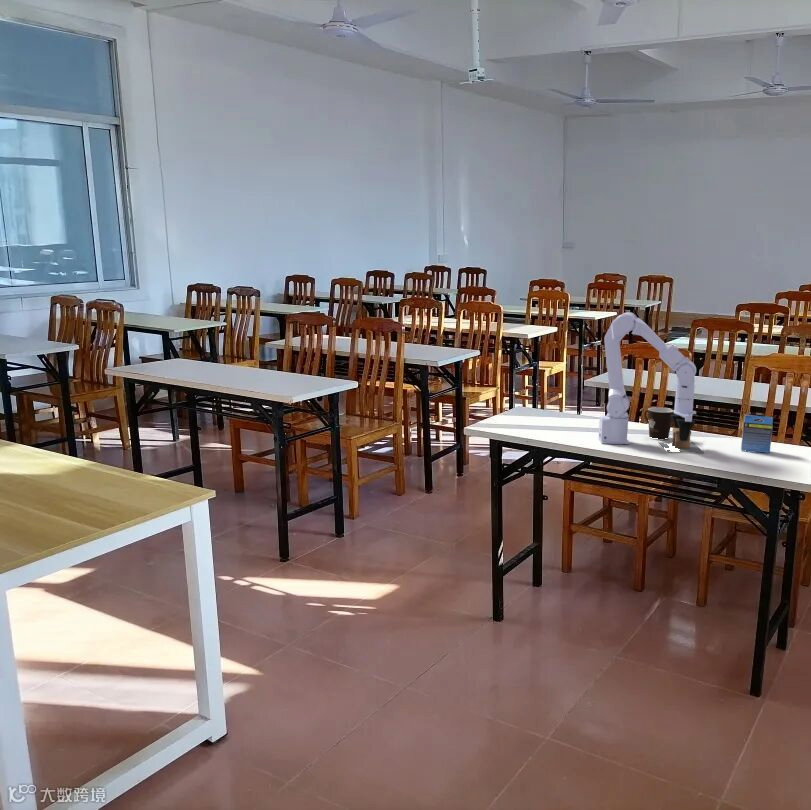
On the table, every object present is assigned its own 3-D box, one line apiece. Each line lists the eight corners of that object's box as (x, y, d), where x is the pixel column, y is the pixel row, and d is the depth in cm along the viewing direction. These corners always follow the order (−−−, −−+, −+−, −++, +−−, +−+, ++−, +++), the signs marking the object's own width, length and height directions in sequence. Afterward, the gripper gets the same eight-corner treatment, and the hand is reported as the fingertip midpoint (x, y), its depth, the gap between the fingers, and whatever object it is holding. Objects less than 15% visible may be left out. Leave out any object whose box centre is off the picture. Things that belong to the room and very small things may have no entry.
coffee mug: (674, 440, 287) (676, 412, 285) (649, 440, 287) (651, 412, 285) (665, 433, 298) (667, 406, 296) (641, 432, 299) (642, 405, 297)
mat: (666, 452, 271) (666, 451, 271) (658, 443, 283) (658, 442, 283) (703, 453, 271) (703, 452, 271) (694, 444, 282) (694, 443, 282)
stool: (674, 448, 275) (675, 430, 274) (671, 445, 279) (672, 427, 278) (689, 448, 274) (691, 431, 273) (686, 445, 279) (688, 428, 278)
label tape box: (769, 451, 274) (773, 414, 272) (769, 454, 271) (773, 417, 268) (740, 448, 278) (744, 412, 275) (740, 451, 274) (744, 414, 272)
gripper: (702, 402, 266) (699, 443, 269) (690, 394, 280) (687, 433, 283) (680, 402, 267) (677, 443, 269) (669, 394, 281) (666, 433, 284)
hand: (681, 438), depth 276 cm, fingers open, 5 cm apart
